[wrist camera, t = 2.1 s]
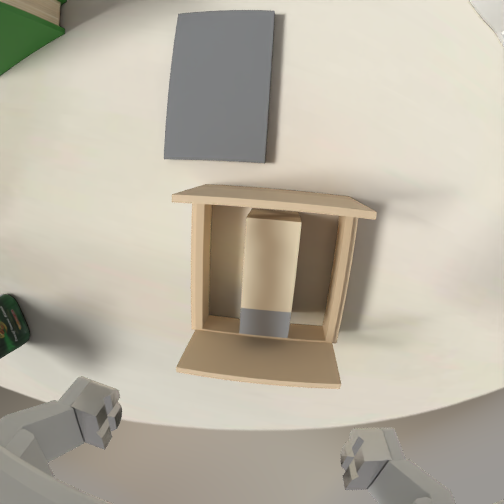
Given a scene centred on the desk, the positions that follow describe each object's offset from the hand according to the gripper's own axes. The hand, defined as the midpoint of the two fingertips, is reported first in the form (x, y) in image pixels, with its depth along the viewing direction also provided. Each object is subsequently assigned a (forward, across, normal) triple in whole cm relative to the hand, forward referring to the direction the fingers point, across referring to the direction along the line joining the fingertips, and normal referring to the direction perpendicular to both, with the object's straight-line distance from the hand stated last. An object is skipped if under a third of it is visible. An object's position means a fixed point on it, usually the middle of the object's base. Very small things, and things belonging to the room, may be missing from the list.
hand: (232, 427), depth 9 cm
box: (+27, -1, +2) cm, 27 cm away
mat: (+27, +7, -17) cm, 33 cm away
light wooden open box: (+27, -1, +2) cm, 27 cm away
